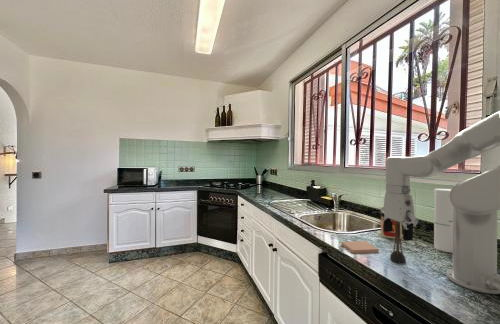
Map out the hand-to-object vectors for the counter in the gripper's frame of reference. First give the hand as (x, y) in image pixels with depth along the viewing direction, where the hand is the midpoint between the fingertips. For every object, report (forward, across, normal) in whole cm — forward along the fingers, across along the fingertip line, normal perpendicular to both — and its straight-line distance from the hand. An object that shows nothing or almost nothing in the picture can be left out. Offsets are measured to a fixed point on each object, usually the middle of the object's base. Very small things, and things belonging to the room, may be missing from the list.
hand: (397, 235), depth 82 cm
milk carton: (+10, +26, -18) cm, 33 cm away
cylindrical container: (+10, +8, -28) cm, 31 cm away
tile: (+9, +12, +2) cm, 15 cm away
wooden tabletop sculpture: (+9, -1, 0) cm, 9 cm away
